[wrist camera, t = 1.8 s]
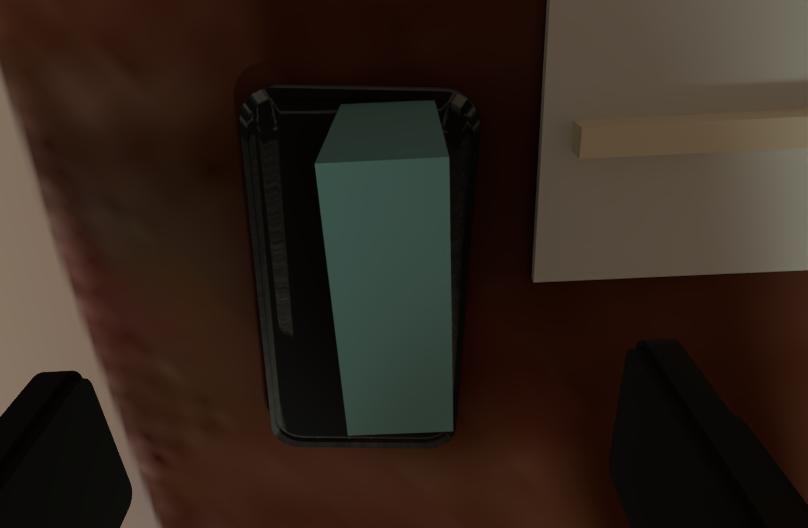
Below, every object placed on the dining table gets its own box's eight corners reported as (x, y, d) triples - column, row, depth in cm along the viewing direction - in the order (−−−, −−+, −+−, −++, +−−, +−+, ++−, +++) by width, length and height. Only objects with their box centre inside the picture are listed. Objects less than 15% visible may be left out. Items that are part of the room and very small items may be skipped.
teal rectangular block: (439, 304, 23) (453, 431, 17) (362, 307, 23) (347, 435, 17) (433, 95, 19) (449, 157, 13) (342, 99, 19) (314, 163, 13)
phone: (483, 91, 18) (454, 449, 25) (478, 85, 19) (452, 430, 26) (231, 86, 18) (270, 447, 25) (240, 80, 19) (275, 428, 26)
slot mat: (905, 260, 22) (935, 278, 21) (531, 277, 22) (539, 296, 21) (1163, -422, 14) (1240, -460, 13) (568, -381, 14) (584, -416, 13)
